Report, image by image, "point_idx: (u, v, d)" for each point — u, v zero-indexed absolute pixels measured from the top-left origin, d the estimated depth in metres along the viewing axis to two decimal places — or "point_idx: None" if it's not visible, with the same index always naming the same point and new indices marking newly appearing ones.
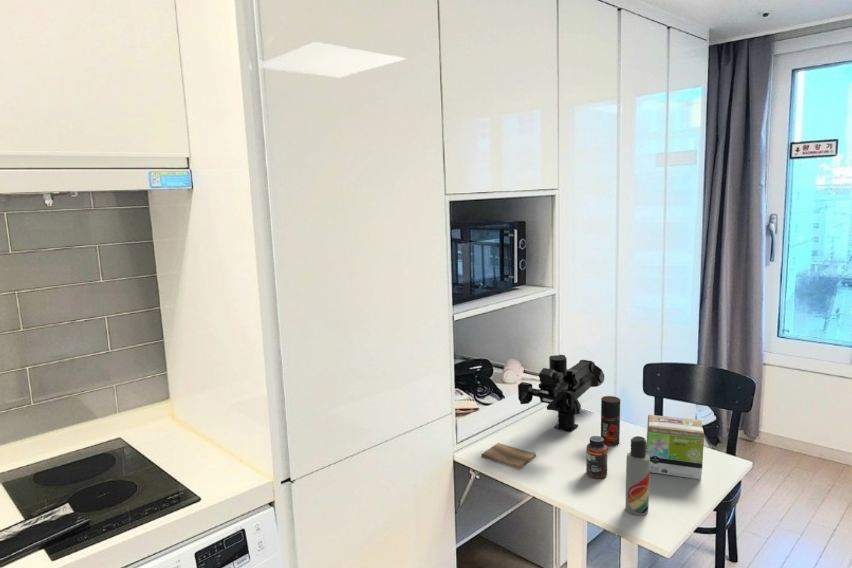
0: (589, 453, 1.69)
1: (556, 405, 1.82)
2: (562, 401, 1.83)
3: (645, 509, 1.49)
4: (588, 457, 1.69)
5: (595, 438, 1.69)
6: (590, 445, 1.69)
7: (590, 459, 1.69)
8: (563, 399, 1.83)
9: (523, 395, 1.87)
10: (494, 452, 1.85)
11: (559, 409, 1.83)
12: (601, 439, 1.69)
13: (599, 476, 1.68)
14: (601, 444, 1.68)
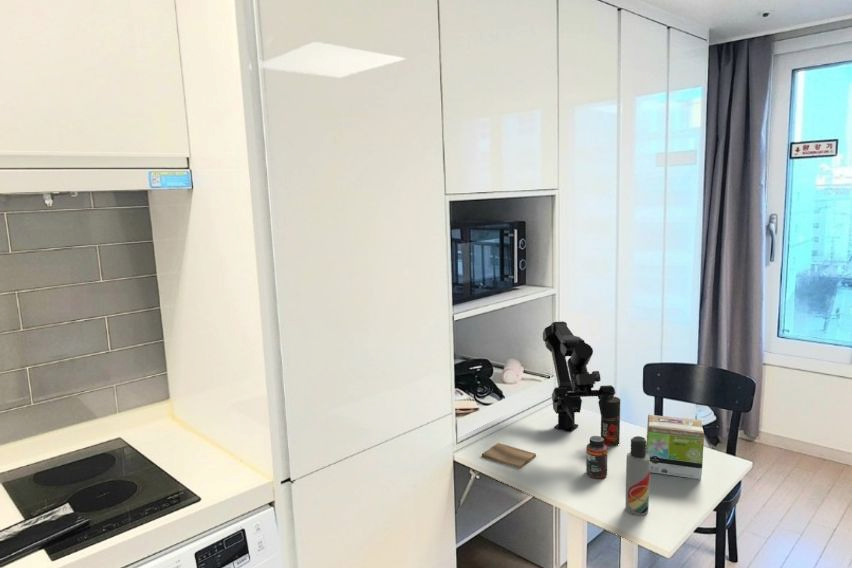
0: (589, 453, 1.69)
1: None
2: None
3: (645, 509, 1.49)
4: (588, 457, 1.69)
5: (595, 438, 1.69)
6: (590, 445, 1.69)
7: (590, 459, 1.69)
8: (607, 397, 1.80)
9: (570, 409, 1.78)
10: (494, 452, 1.85)
11: None
12: (601, 439, 1.69)
13: (599, 476, 1.68)
14: (601, 444, 1.68)
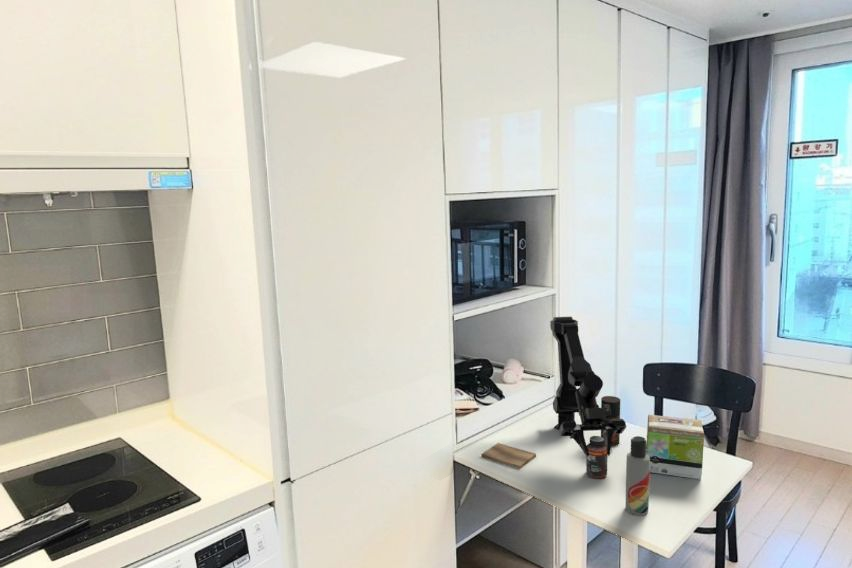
0: (589, 453, 1.69)
1: None
2: None
3: (645, 509, 1.49)
4: (588, 457, 1.69)
5: (595, 438, 1.69)
6: (590, 445, 1.69)
7: (590, 459, 1.68)
8: None
9: (584, 444, 1.70)
10: (494, 452, 1.85)
11: None
12: (601, 439, 1.69)
13: (599, 476, 1.68)
14: (601, 444, 1.68)
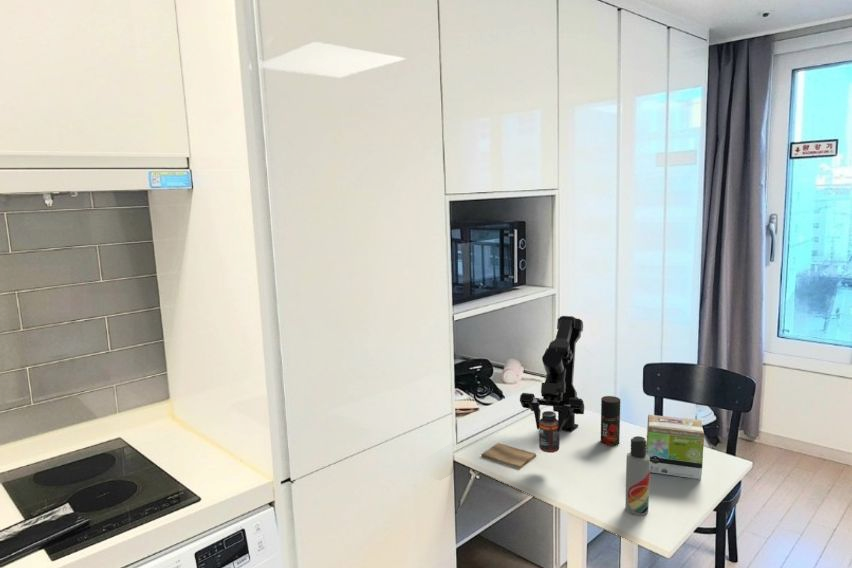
0: (539, 426, 1.73)
1: (564, 419, 1.72)
2: (568, 411, 1.73)
3: (645, 509, 1.49)
4: (539, 430, 1.73)
5: (547, 413, 1.72)
6: (541, 419, 1.73)
7: (540, 432, 1.72)
8: (569, 410, 1.72)
9: (536, 417, 1.74)
10: (494, 452, 1.85)
11: (567, 418, 1.74)
12: (552, 414, 1.71)
13: (547, 450, 1.71)
14: (550, 419, 1.70)
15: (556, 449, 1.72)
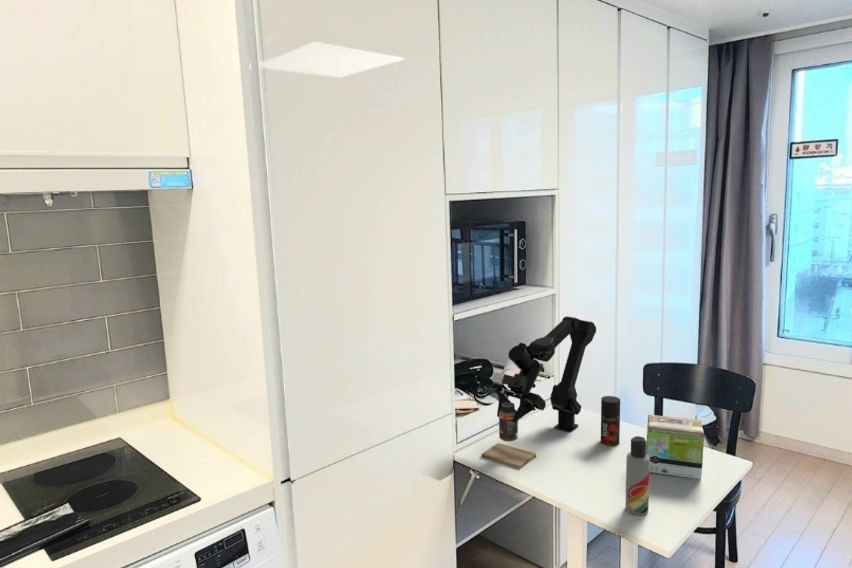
0: None
1: (522, 412, 1.80)
2: (527, 405, 1.79)
3: (645, 509, 1.49)
4: None
5: (507, 404, 1.82)
6: (502, 408, 1.83)
7: None
8: (527, 404, 1.79)
9: (499, 405, 1.84)
10: (494, 452, 1.85)
11: (527, 412, 1.81)
12: (509, 405, 1.80)
13: (502, 438, 1.81)
14: (506, 409, 1.80)
15: (511, 439, 1.80)
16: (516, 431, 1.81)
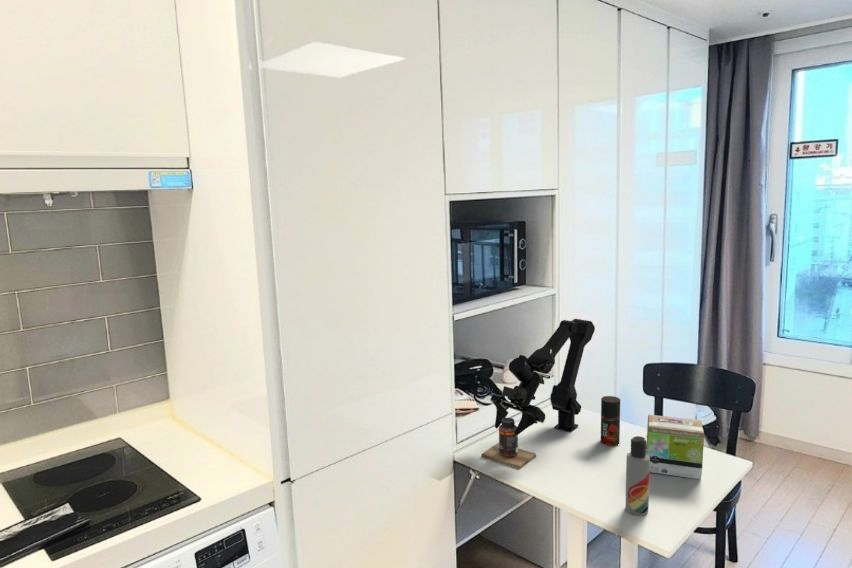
0: None
1: (524, 425, 1.80)
2: (529, 418, 1.79)
3: (645, 509, 1.49)
4: None
5: (507, 419, 1.83)
6: (502, 424, 1.84)
7: None
8: (529, 417, 1.79)
9: (497, 416, 1.86)
10: (494, 452, 1.85)
11: (529, 425, 1.81)
12: (509, 421, 1.81)
13: (502, 453, 1.82)
14: (506, 425, 1.81)
15: (511, 454, 1.81)
16: (516, 447, 1.82)
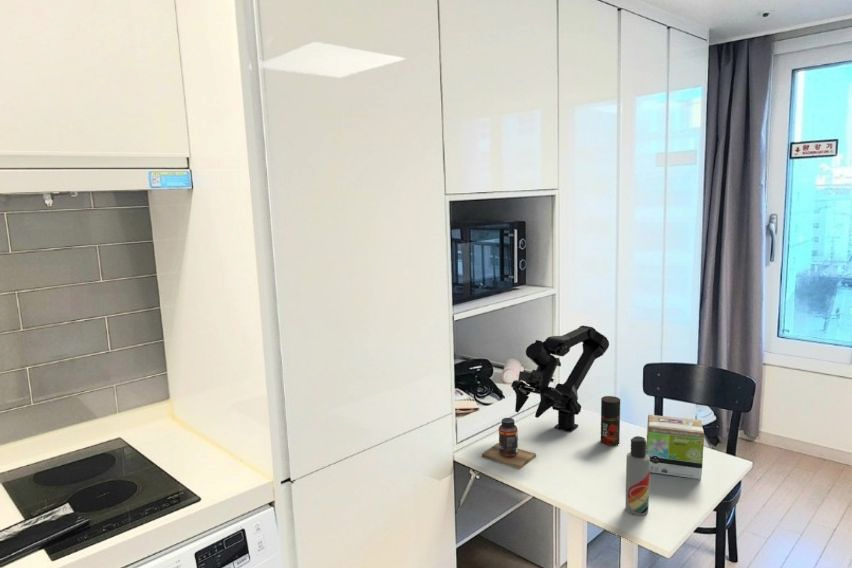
0: None
1: (544, 406, 1.85)
2: (548, 399, 1.84)
3: (645, 509, 1.49)
4: None
5: (507, 419, 1.83)
6: (502, 424, 1.84)
7: None
8: (547, 398, 1.84)
9: (516, 401, 1.93)
10: (494, 452, 1.85)
11: (550, 406, 1.85)
12: (509, 421, 1.81)
13: (502, 453, 1.82)
14: (506, 425, 1.81)
15: (511, 454, 1.81)
16: (516, 447, 1.82)
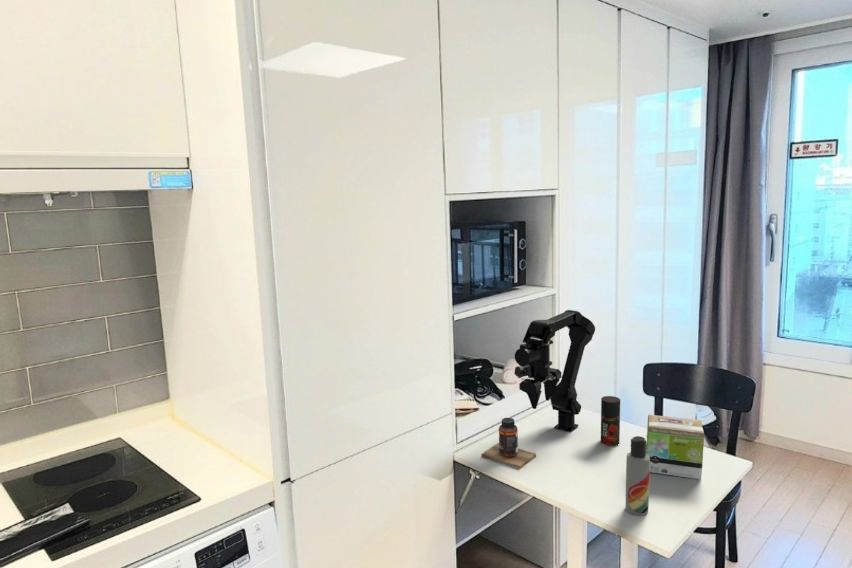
0: None
1: (533, 398, 1.87)
2: None
3: (645, 509, 1.49)
4: None
5: (507, 419, 1.83)
6: (502, 424, 1.84)
7: None
8: None
9: None
10: (494, 452, 1.85)
11: (537, 396, 1.86)
12: (509, 421, 1.81)
13: (502, 453, 1.82)
14: (506, 425, 1.81)
15: (511, 454, 1.81)
16: (516, 447, 1.82)
